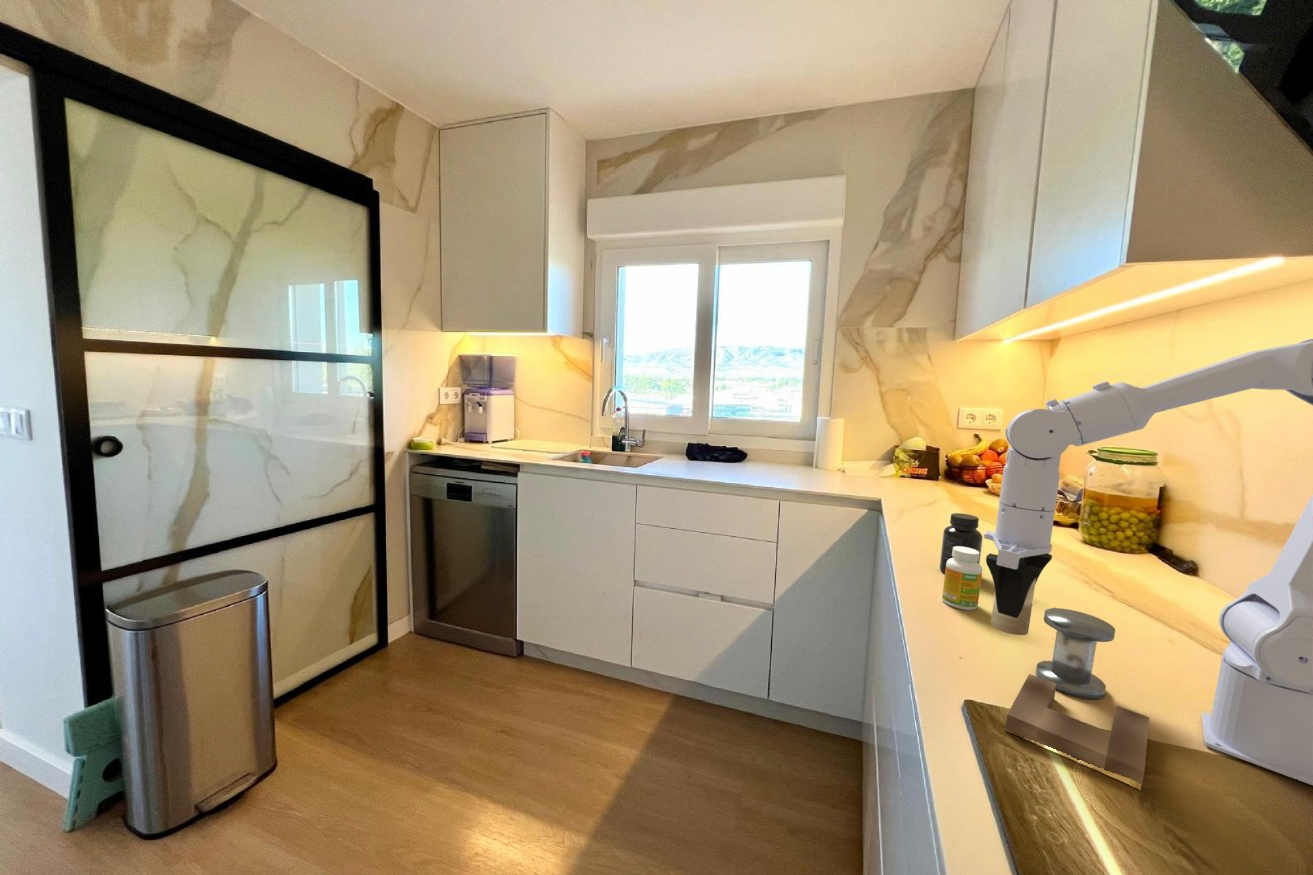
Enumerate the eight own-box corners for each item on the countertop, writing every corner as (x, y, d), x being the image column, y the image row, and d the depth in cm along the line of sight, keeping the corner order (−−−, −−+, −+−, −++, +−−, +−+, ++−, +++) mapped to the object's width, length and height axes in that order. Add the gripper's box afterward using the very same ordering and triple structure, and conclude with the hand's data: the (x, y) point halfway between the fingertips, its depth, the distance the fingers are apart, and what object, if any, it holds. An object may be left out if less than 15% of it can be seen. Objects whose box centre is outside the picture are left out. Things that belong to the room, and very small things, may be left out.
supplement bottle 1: (945, 565, 110) (952, 509, 109) (982, 575, 105) (990, 517, 104) (933, 572, 105) (940, 514, 104) (971, 583, 101) (979, 522, 99)
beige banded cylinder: (1031, 628, 67) (1039, 568, 66) (1024, 638, 64) (1033, 575, 63) (995, 617, 70) (1002, 559, 69) (987, 626, 67) (995, 566, 66)
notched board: (1146, 733, 58) (1149, 717, 58) (1141, 790, 49) (1144, 771, 49) (1027, 688, 65) (1029, 673, 65) (1004, 731, 57) (1007, 714, 57)
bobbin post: (1107, 684, 67) (1117, 622, 66) (1101, 707, 62) (1112, 640, 61) (1040, 661, 72) (1049, 603, 71) (1031, 680, 67) (1040, 618, 66)
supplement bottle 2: (959, 611, 87) (966, 556, 86) (934, 598, 92) (940, 545, 91) (985, 609, 89) (992, 554, 87) (959, 596, 94) (965, 544, 93)
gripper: (1002, 492, 73) (990, 585, 74) (973, 507, 63) (960, 614, 64) (1066, 502, 68) (1051, 602, 69) (1046, 520, 58) (1029, 636, 59)
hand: (1012, 609), depth 67 cm, fingers closed on beige banded cylinder, 4 cm apart
